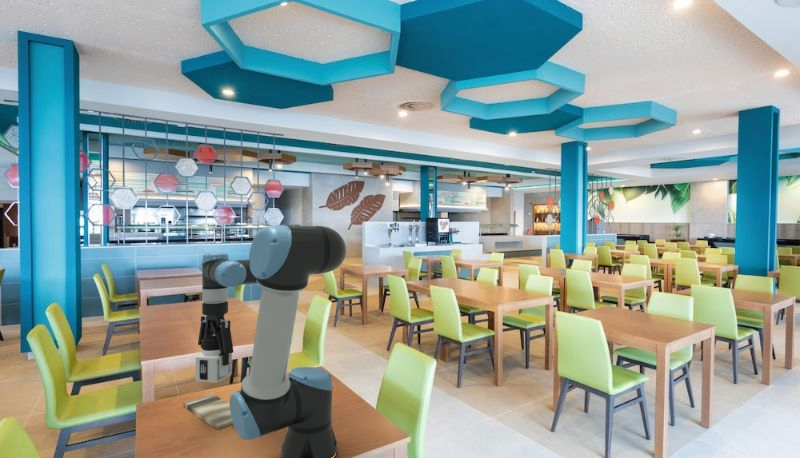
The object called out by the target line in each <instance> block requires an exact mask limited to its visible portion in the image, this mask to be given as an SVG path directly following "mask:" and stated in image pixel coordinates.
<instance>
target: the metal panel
mask: <svg viewBox="0 0 800 458" xmlns="http://www.w3.org/2000/svg"><path fill="white" fill-rule="evenodd" d="M182 403H183V407H184V408H186V409H187V410H188V411H190V412H191V413H193V414H194V415H196V416H197V417H198V418H199V419H201V420H203V421H204V422H206V423H207V424H209V425H210V426H211V427H212V428H214V429H216V430H217V431H218V430H221V429H223V428H226V427H229V426H231V425H234V424H233V421H232V417H231V412H230V402H227V401H226V400H224V399H222V398H221V397H219V396H218V395H215V394H214V393H210V394H206V395H203V396H199V397H196V398H193V399H190V400H187V401H184V402H183V401H182Z"/></svg>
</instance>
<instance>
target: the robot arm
mask: <svg viewBox="0 0 800 458" xmlns="http://www.w3.org/2000/svg"><path fill="white" fill-rule="evenodd" d="M346 255H347V246H346V242H345V240H344V238H343V237H342V236H341V234H340V233H339V232H338V231H336V230H334V229H333V228H332V227H331V228H330V227H328V226H324V225H315V226H314V225H286V224H285V225H284V224H279V225H270V226H269V225H268V226H265V227H263V228H261V229H260V230H259V231H258V232H257V233H256V234H255V235H254V237H253V239H252V241H251V245H250V248H249V254H248V256H249V257H248V259H237V260H235V259H233V260H230V259H229V254H228V253H227V252H222V251H221V252H215V251H214V252H205V253H204V254H203V255H202V261H201V262H202V263H201V271H202V274H201V275H202V276H201V277H202V278H201V279H202V281H201V282H202V283H201V285H202V286H201V287H202V288H201V301H202V304H201V314H202V316H200V327H199V333H198V334H199V335H198V341H197V345H198V346H200V349H201V354H202V353H203V339H204V338H206V337H208V336H213V335H216V338H217V341H218V345H219V349H220V353H221V354H219V377H222V376H225V375H229V354H230V353H232V354H233V353H234V347H233V346H234V345H233V336H232V332H231V321H230V320H225V315H226V314H227V313H228V312H229V301H228V299H229V288H236V287H239V286H242V285H253V284H258V285H259V286H260V287H261V293H260V301H259V308H258V315H257V320H256V329H255V335H254V341H253V342H254V343H253V348H252V349H253V350H252V357H251V361H250V362H251V364H250V370H249V373H248V374H246V376H245V377H244V378H243V379H242V381H241V387H240V390H236V391H235V392H232V394H230V398H229V404H230V412H231V417H232V421H233V424H232V425H233V427H234V429H235V431H236V433H237V435H238V436H239V437H240V438H241V439H242V440H245V441H249V440H254V439H258V438H259V439H260V438H261V437H263V436H265V435H266V436H267V435H268V434H271V433H275V432H277V431H280V430H283V429H285V428H286V429H287V430H286V433H285V437H284V441H283V443H282V445H281V447H280V448H281V449H280V458H331V457H333V456H334V455H335V453H336V452H337V453H338V441H337V439H336V435H335V432H334V429H333V426H332V417H333V416H332V415H333V414H332V406H333V390H334V387H333V378H332V374H331V373H330V372H328V371H327V370H325V369H323V368H319V367H313V366H299V367H294V368H292V369H290V371H289V373H288V376H287V372H288V371H287V369H288V365H289V364H288V363H289V357H290V352H291V348H292V347H291V346H292V339H293V334H294V326H295V320H296V315H297V310H298V306H299V305H298V304H299V297H300V293H301V292H302V291H303V290H305V289H306V288H307V287H308V284H309V279H310V275H318V274H319V275H320V274H327V273H329V272H333V271H335V270H336V269H338V268H339V267H341V265H342V264H343V262H344V260H345V258H346Z"/></svg>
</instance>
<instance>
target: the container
mask: <svg viewBox="0 0 800 458" xmlns="http://www.w3.org/2000/svg"><path fill="white" fill-rule="evenodd" d="M219 354H221V353H220V349H219V345H218V341H217V338H216V335H214V334H213V336H208V337H206V338H204V339H203V353H202V352H201V353H200V354H198V355H196V356H195V357H194V358H195V363H194V364H195V380H194V381H195V382H202V383H203V382H205V383H215V384H216V383H217V384H218V383H219V382H221V381H222V380H225V379H227V378H228V377H229V376H231V375H232V374H233V364H232V363H233V362H232V361H233V358H232V357H233V353H230V354H229V375H225V376H222V377H219Z"/></svg>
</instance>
